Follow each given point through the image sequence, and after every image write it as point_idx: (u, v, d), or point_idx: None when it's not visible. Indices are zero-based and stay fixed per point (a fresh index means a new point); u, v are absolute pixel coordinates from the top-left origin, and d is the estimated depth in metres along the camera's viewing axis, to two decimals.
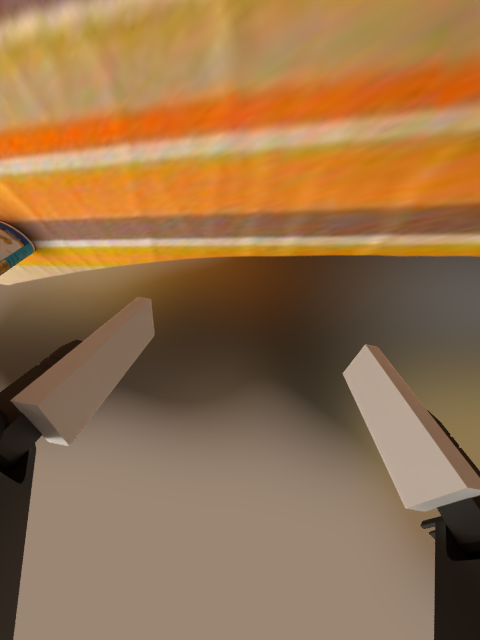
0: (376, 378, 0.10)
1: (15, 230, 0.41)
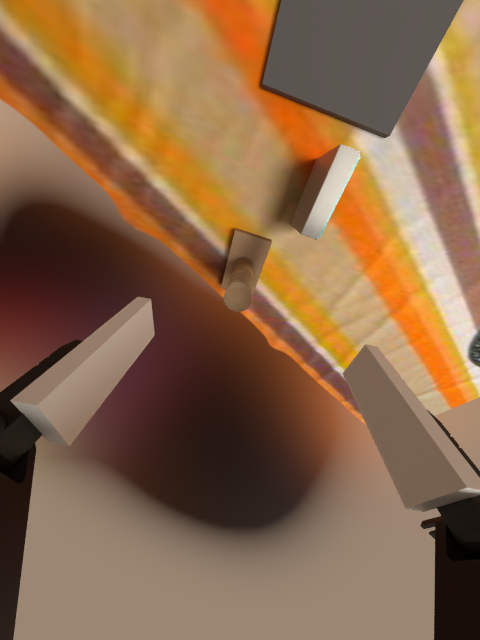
0: (376, 378, 0.10)
1: None
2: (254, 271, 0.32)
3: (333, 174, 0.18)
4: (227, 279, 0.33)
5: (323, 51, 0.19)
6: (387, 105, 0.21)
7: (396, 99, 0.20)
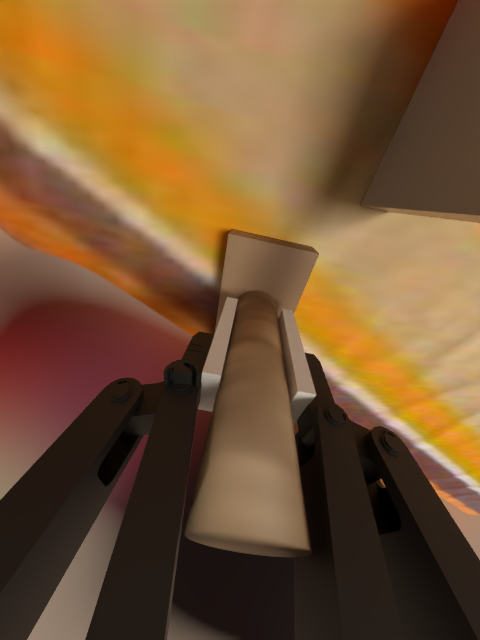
0: (282, 333, 0.11)
1: None
2: (278, 316, 0.15)
3: None
4: None
5: None
6: None
7: None
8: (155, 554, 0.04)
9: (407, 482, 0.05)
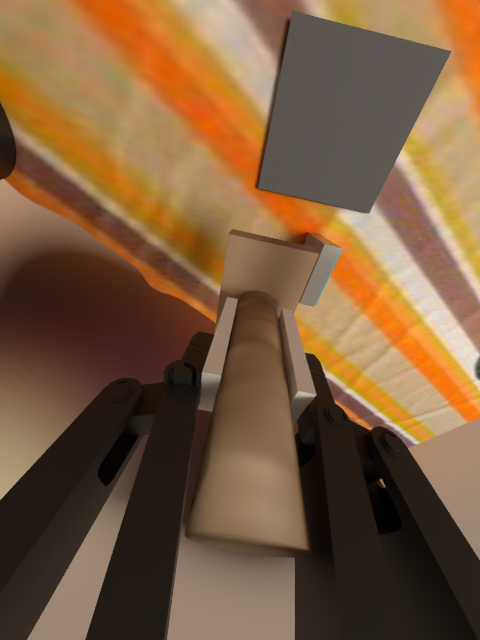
0: (282, 333, 0.11)
1: None
2: (278, 316, 0.15)
3: (321, 263, 0.23)
4: None
5: (305, 163, 0.24)
6: (363, 193, 0.25)
7: (370, 188, 0.24)
8: (155, 554, 0.04)
9: (407, 482, 0.05)
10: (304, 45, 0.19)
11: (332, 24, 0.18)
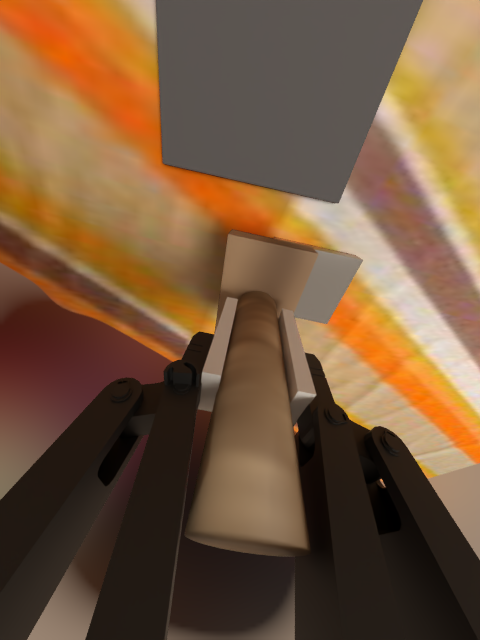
0: (282, 333, 0.11)
1: None
2: (278, 316, 0.15)
3: None
4: None
5: (228, 119, 0.14)
6: (327, 170, 0.15)
7: (338, 162, 0.15)
8: (155, 555, 0.04)
9: (407, 482, 0.05)
10: None
11: None
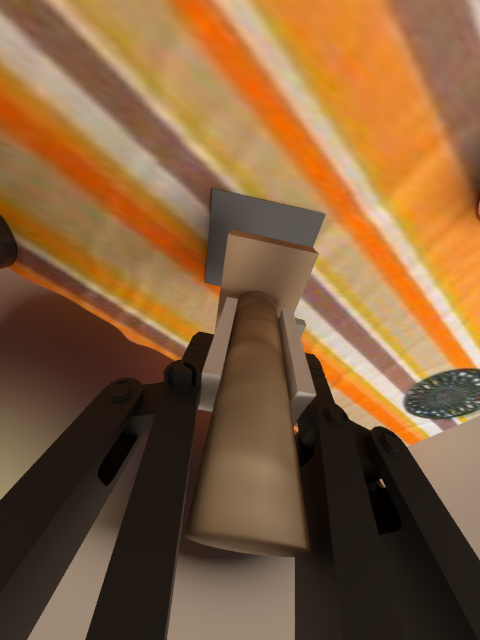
0: (282, 333, 0.11)
1: None
2: (278, 316, 0.15)
3: None
4: None
5: None
6: None
7: None
8: (155, 555, 0.04)
9: (407, 482, 0.05)
10: (224, 205, 0.26)
11: (241, 196, 0.25)
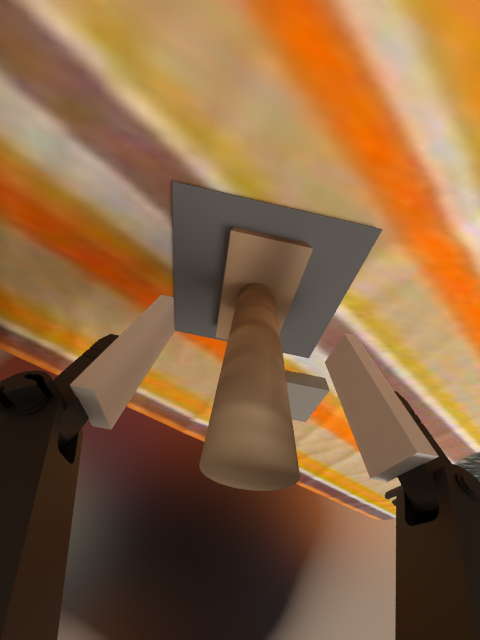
0: (352, 363, 0.10)
1: None
2: (276, 307, 0.16)
3: None
4: (225, 324, 0.18)
5: None
6: (299, 342, 0.20)
7: (306, 339, 0.20)
8: None
9: None
10: (195, 213, 0.14)
11: (226, 196, 0.14)
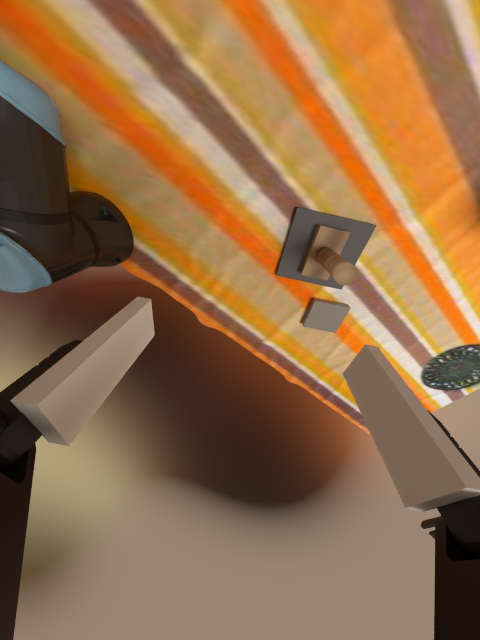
0: (376, 378, 0.10)
1: None
2: None
3: None
4: (308, 267, 0.40)
5: None
6: None
7: None
8: None
9: None
10: (303, 219, 0.37)
11: (317, 212, 0.36)
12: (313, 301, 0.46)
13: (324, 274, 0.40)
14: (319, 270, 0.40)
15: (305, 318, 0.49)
